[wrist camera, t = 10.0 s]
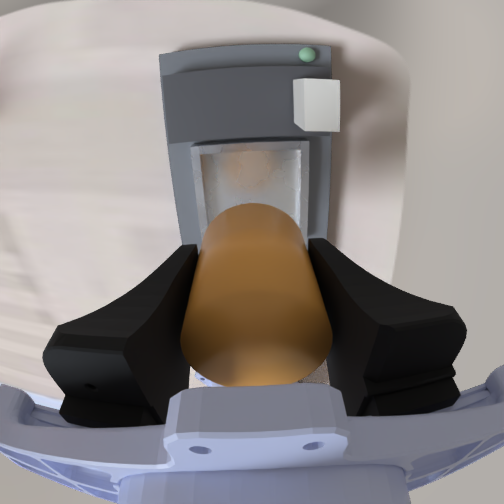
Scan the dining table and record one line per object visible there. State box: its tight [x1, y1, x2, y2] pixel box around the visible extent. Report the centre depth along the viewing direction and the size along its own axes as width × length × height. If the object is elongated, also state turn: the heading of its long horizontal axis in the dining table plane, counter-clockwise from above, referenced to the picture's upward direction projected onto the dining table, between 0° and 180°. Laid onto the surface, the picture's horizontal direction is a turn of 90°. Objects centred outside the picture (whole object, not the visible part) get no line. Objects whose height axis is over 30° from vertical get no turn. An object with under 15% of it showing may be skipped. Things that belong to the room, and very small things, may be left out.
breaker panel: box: [159, 44, 332, 254], centre depth 19 cm, size 20×10×3 cm, turn 3°
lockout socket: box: [190, 138, 309, 245], centre depth 19 cm, size 7×7×1 cm
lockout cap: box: [180, 203, 333, 387], centre depth 11 cm, size 4×4×6 cm
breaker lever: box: [293, 78, 340, 132], centre depth 13 cm, size 2×2×3 cm
